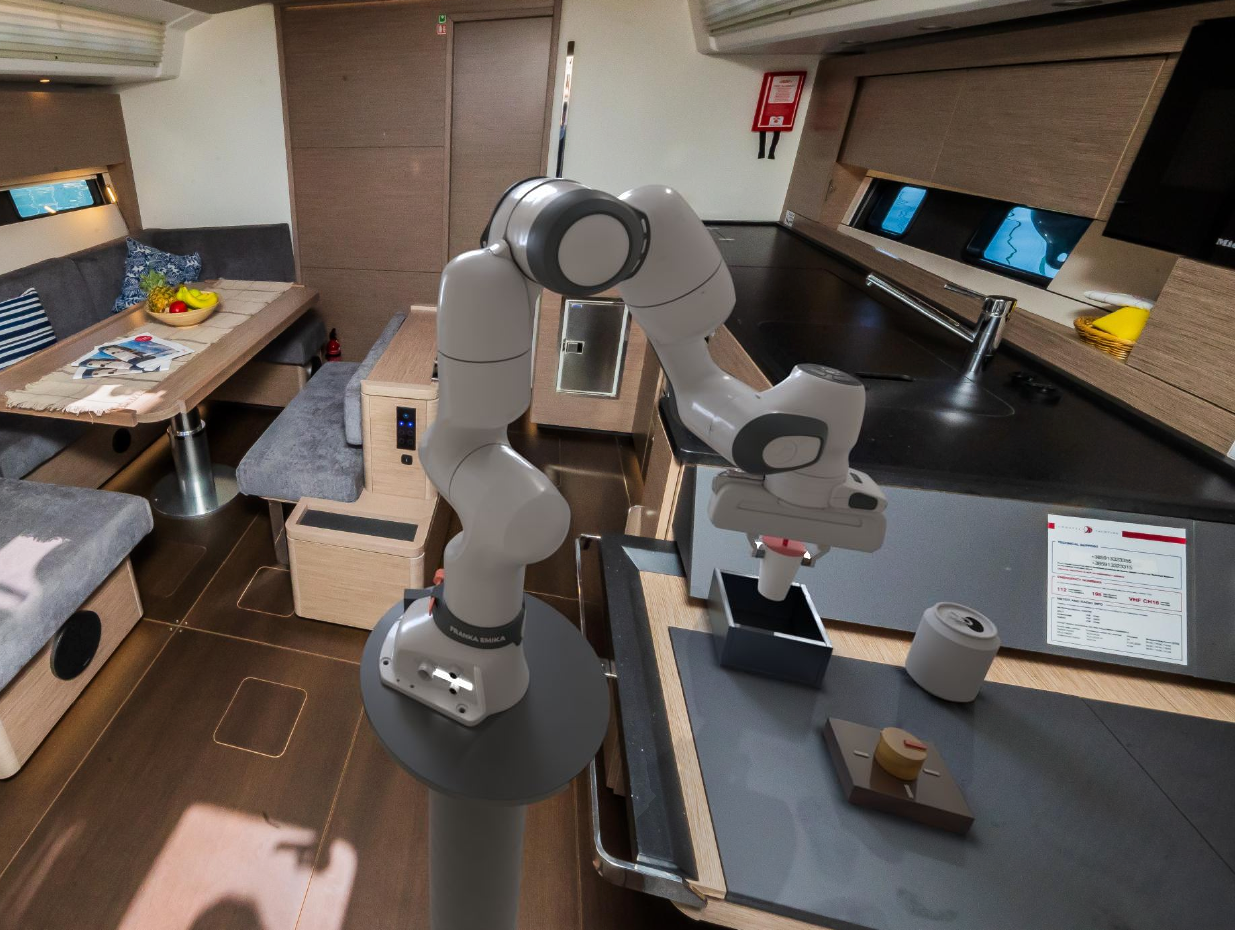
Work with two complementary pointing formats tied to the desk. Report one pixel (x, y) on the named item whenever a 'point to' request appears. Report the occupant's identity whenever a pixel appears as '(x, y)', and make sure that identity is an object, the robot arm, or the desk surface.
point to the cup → (779, 566)
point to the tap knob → (900, 753)
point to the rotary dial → (895, 780)
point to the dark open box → (767, 630)
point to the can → (952, 651)
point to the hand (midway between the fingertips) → (780, 559)
